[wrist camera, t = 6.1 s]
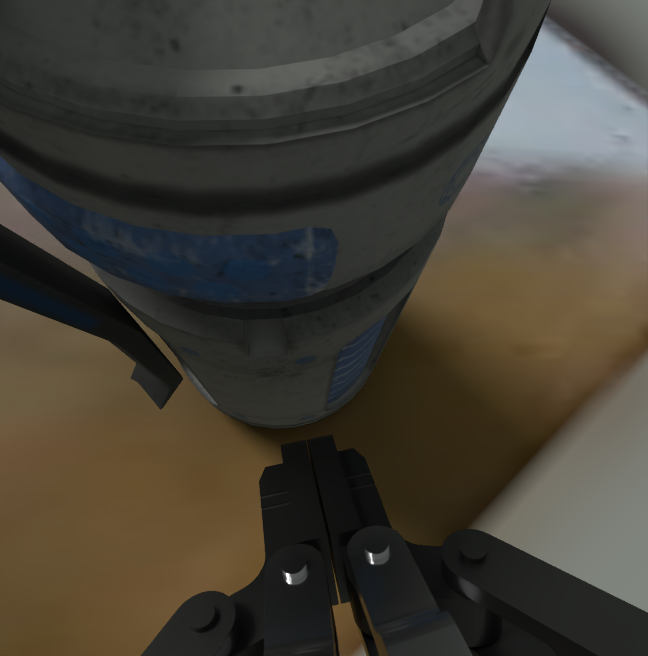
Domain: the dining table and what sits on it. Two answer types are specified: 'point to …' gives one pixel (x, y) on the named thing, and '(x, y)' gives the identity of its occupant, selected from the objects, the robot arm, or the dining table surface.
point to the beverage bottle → (245, 177)
